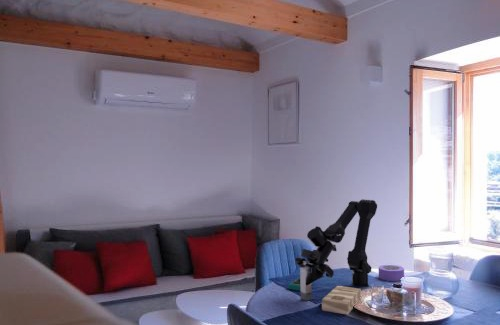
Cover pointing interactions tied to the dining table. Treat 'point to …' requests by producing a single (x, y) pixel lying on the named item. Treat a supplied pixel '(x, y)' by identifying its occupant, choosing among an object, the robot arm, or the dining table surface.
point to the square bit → (305, 289)
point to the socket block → (341, 299)
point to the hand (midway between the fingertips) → (303, 283)
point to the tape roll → (391, 272)
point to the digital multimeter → (296, 285)
